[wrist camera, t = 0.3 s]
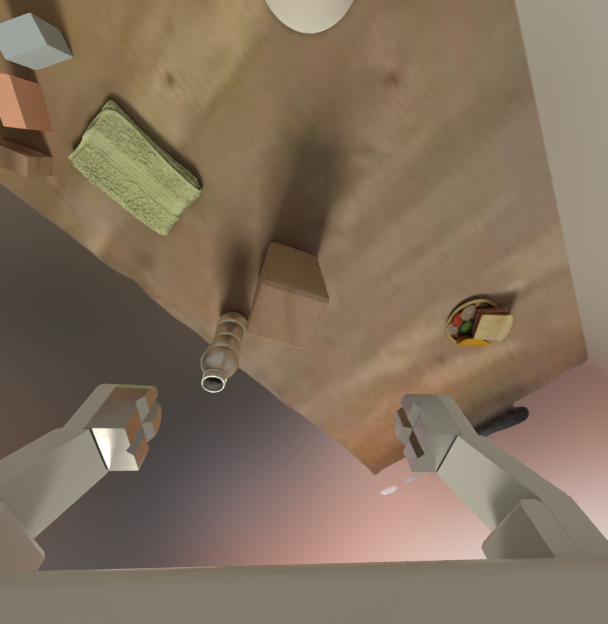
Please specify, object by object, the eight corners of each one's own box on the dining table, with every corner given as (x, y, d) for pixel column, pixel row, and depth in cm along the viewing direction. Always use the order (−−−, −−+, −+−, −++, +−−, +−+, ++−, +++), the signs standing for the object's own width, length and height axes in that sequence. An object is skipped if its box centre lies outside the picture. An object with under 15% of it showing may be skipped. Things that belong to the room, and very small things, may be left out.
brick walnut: (10, 158, 45) (-20, 157, 40) (10, 138, 43) (-21, 136, 39) (51, 175, 46) (27, 177, 42) (52, 157, 45) (27, 157, 41)
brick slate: (36, 70, 40) (5, 59, 35) (21, 43, 38) (-14, 28, 34) (73, 57, 39) (47, 44, 35) (59, 29, 38) (29, 12, 33)
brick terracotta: (17, 81, 40) (-16, 71, 36) (39, 83, 40) (9, 74, 36) (32, 129, 43) (3, 126, 39) (52, 132, 43) (26, 128, 39)
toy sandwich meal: (455, 294, 62) (467, 304, 57) (510, 299, 63) (525, 308, 59) (436, 340, 68) (446, 352, 63) (487, 343, 69) (499, 355, 65)
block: (256, 283, 58) (243, 337, 40) (270, 238, 53) (262, 277, 36) (301, 297, 60) (307, 354, 42) (318, 255, 55) (332, 298, 38)
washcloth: (112, 95, 42) (100, 91, 39) (208, 186, 49) (203, 188, 46) (73, 163, 46) (59, 164, 43) (166, 238, 53) (159, 243, 50)
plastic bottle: (252, 329, 63) (239, 394, 45) (224, 335, 63) (200, 401, 46) (244, 305, 60) (227, 365, 42) (214, 311, 60) (185, 373, 43)
